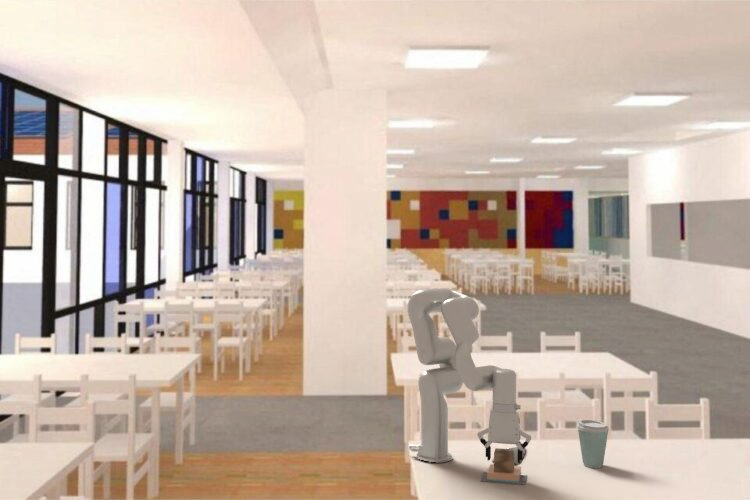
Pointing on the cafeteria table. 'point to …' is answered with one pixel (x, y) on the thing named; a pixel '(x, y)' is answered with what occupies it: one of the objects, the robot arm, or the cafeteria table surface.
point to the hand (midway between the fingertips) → (504, 460)
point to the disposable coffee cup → (592, 442)
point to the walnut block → (504, 460)
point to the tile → (504, 475)
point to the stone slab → (516, 455)
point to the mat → (521, 482)
